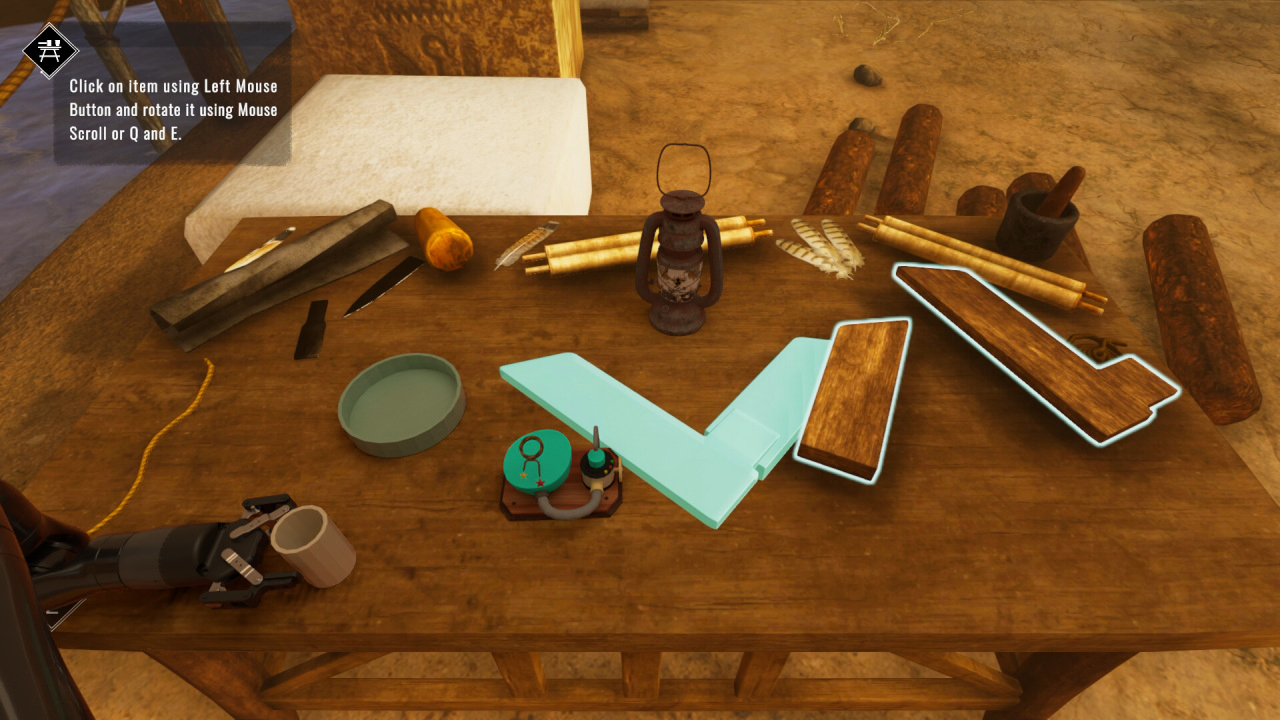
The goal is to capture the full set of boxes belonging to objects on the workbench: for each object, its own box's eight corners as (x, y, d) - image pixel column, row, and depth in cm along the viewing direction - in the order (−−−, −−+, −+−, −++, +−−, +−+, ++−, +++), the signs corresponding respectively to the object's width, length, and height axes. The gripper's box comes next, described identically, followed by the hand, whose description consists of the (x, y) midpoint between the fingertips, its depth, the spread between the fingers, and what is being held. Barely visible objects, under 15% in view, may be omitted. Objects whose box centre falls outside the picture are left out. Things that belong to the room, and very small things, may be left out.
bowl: (458, 452, 90) (451, 437, 87) (332, 462, 89) (322, 447, 86) (472, 365, 103) (467, 349, 100) (363, 372, 102) (355, 356, 99)
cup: (349, 586, 75) (318, 550, 68) (299, 590, 75) (262, 555, 68) (361, 540, 79) (333, 503, 72) (314, 544, 79) (281, 507, 72)
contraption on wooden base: (624, 532, 80) (620, 472, 69) (495, 537, 80) (470, 477, 69) (622, 449, 90) (619, 385, 79) (507, 453, 89) (488, 390, 79)
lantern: (640, 295, 116) (637, 124, 91) (720, 302, 115) (740, 130, 89) (631, 331, 109) (626, 156, 84) (717, 339, 107) (738, 163, 82)
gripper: (129, 600, 64) (278, 587, 65) (188, 490, 74) (316, 479, 75) (169, 625, 70) (306, 612, 70) (219, 519, 80) (338, 509, 80)
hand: (311, 544), depth 73 cm, fingers open, 8 cm apart
